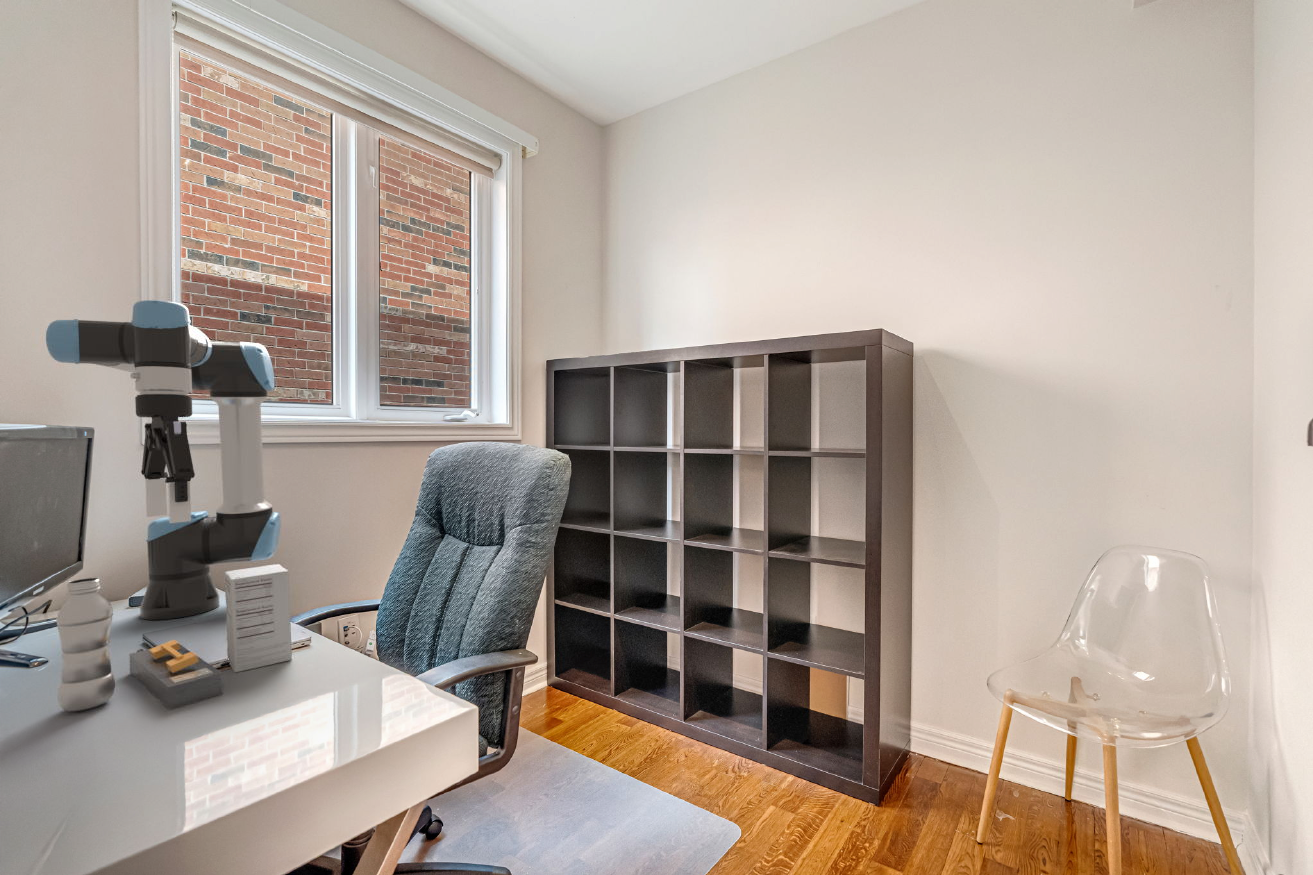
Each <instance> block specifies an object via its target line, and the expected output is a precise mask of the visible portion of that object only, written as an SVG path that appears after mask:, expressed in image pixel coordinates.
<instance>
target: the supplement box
mask: <svg viewBox="0 0 1313 875" xmlns="http://www.w3.org/2000/svg"><path fill="white" fill-rule="evenodd" d="M289 571H290V570H288V569H286V568H284V567H283V566H282V565H281V564H278V563H277V564H276V563H275V564H269V565H262V566H254V567H249V568H241V569H233V570H227V571H225V572H224V593H225V594H224V595H225V596H224V597H225V605H226V606H225V610H226V617H225V618H226V619H225V620H226V646H227V647H226V648H227V649H226V650H227V659H228V658H229V661H228V663H229V662H230V663H229V665H230V668H232V670H233V673H239V672H243V671H248V670H254V669H256V668H261V667H265V666H269V665H274V664H279V663H284V662H288V661H291V660H293V659H292V658H293V657H292V655H293V652H292V627H291V626H292V624H291V621H292V620H291V600H290V597H291V594H290V593H291V592H290V572H289Z"/></svg>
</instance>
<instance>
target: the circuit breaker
mask: <svg viewBox="0 0 1313 875" xmlns="http://www.w3.org/2000/svg"><path fill="white" fill-rule="evenodd" d="M179 646H180V649H179V650H177V652H179V653H180V654H182V655H184V654H187V653H189V652H191V651H190V650H189V649H188V648H186V647H184V646H183V645H182V644H180V643H179ZM149 649H150V648H149ZM149 649H142V648H140V649H137V650H136V652H131V653H129V655H128V656H129V674H130V675H131V676H132V677H133V678H134V679H135V680H137V682H139V683H140V684H141V685H142V686H143V687H144V688H145V689H146V690H147V691H148V692H150V693H151V694H152V695H153V697H155V698H156V699H157V700H158V701H159V702H160V703H161V704H162V705H164V706H165V708H167V709H168V710H169V711H171V710H174V709H178V708H181V707H183V706H184V707H185V706H187V705H191V704H194V703H197V702H200V701H203V700H207V699H210V698H214V697H216V696H217V697H218V696H221V695H223V694H224V692H223V672H222V671H220V670H219V669H217V668H215V667H214V666H213V665H212V664H209V663H208V662H207V661H205V659H203V658H201V657H199V656H198V655H197V658H198V661H199V662H197V663H194V664H192V665H190V666H187V667H185V668H183V669H181V670H178V671H176V672H174V673H172V672H171V671H170V670H169V669H168V668H167V665H166V662H168V661H170V660H172V659H175V657H173V656H172V655H170V654H167V655H165V656H162V657H160V658H157V659H155V658H153V657H152V656H151V654H150V651H149Z"/></svg>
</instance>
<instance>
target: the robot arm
mask: <svg viewBox="0 0 1313 875" xmlns="http://www.w3.org/2000/svg"><path fill="white" fill-rule="evenodd" d="M131 317H132V318H131V321H110V320H109V321H107V320H103V321H102V320H100V321H99V320H85V319H77V318H74V319H56V320H53V321H52V322H50V323H49V325H48V326H47V329H46V332H45V342H46V348H47V351H48V353H49V356H51V357H52V358H53V359H54V360H55V361H57V362H59V363H63V364H64V363H67V364H75V365H79V364H89V365H90V364H91V365H96V366H102V367H106V368H107V367H108V368H110V369H111V368H112V369H116V370H118V371H119V370H120V371H125V372H128V373H130V378H131V379H132V380H133V379H134V385H135V391H136V392H138V393H139V394H136V396H135V398H134V399H135V414H136V417H139V418H151V422H146V423H145V425H144V443H143V444H144V445H143V455H142V456H143V457H142V465H141V470H140V474H141V475H142V476H143V477H144V479H145V502H146V503H145V504H146V507H145V508H146V510H145V511H146V518H152V517H161V518H157V519H155V520H153V521H150V523H149V524H148V527H147V539H146V542H147V565H148V566H147V567H148V569H147V570H148V583H147V584H148V585H147V588H146V590H145V593H144V596H143V599H142V602H141V604H140V607H139V613H140V616H139V617H140V618H141V619H143V620H148V621H149V620H150V621H154V620H155V621H156V620H158V621H159V620H171V619H178V618H179V619H180V618H184V617H190V616H195V615H199V614H203V613H207V612H209V611H211V610H214V609H217V608H218V607H219V606H220V595H219V592H218V590H217V588H216V586H215V583H214V581H213V579H212V576H211V573H210V572H211V571H210V565H219V564H222V565H224V564H232V563H233V564H235V563H245V562H246V563H247V562H251V563H253V562H256V561H262V560H269V559H270V558H271V559H272V557H273V556H274V555H275V554H276V550H277V548H278V544H279V538H280V533H281V523H282V522H281V520H282V519H281V513H279V512H277V511H273V504H271V503H270V502H268V501H267V500H266V496H265V495H266V494H265V474H264V456H263V454H264V452H263V430H262V429H263V428H262V410H261V407H262V406H261V404H263V402H264V401H266V400H267V399H268V392H270V391H273V390H274V388H275V374H274V373H275V372H274V367H273V364H272V360H271V359H272V358H271V357H270V354H269V352H268V350H267V348H266V347H265V346H264V345H262V344H260V343H255V342H246V341H211V340H210V339H209V337H208V336H207V335H206V334H205V333H204V332H203V331H202V330H200V328H197V327H196V326H193V325H190V324H191V323H192V321H191V319H190V313H189V308H188V307H187V306H186V305H185V304H182V303H179V302H175V301H174V302H173V301H167V300H166V301H165V300H155V299H154V300H153V299H152V300H149V299H148V300H139V301H136V302H135V303H134V304H133V306H132V316H131ZM194 390H195V391H209V397H210V399H211V400H212V401H213V402H215V404H217V406H218V425H219V442H220V443H219V444H220V446H219V447H220V461H221V462H220V464H221V465H220V466H221V480H222V481H221V483H222V499H223V501H222V502H223V503H222V504H220V506H219V507H218V508H217V509H216V510H215V511H216V512H215V513H216V515H215V516H210V514H209V513H208V511H206V510H202V511H198V510H197V511H193V512H192V508H191V506H192V505H191V504H192V503H191V482H192V481H191V480H192V479H194V478H195V475H196V473H195V470H194V465H193V459H192V454H191V449H190V444H189V443H190V442H189V439H188V429H187V426H188V425H187V423H186V421H180V420H179V418H189V417H192V415H193V397H191V395H189V393H191V392H192V391H194ZM166 469H167V471H166ZM165 471H166V472H165ZM167 488H168V493H167ZM167 494H168V506H167ZM167 515H168V516H167ZM162 516H165V517H162Z"/></svg>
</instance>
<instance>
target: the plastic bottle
mask: <svg viewBox="0 0 1313 875" xmlns="http://www.w3.org/2000/svg"><path fill="white" fill-rule="evenodd" d="M100 580H101V579H100V578H99V577H87V578H79V579H73V580H70V581H67V584H66V585H67V586H66V587H67V590H66V595H68V596H69V598H68V599H67V601H65V603H64V604H63V605H62V606H61V608H60V610H59V611H58V613H57V616H56V618H55V620H56V626H57V629H58V630H57V631H58V634H59V638H60V642H61V644H60V645H61V652H62V667H61V675H60V676H61V679H60V683H59V688H58V693H57V701H58V705H59V707H60V708H61V709H62V710H64V711H65V712H78V711H79V712H80V711H84V710H88V709H92V708H96V707H98V706H100V705H104V704H105V703H107V702H109V701H110V699H111V698H112V697H113V695H114V694H115V688H116V679H115V676H114V672H113V671H112V665H111V655H110V641H111V640H110V637H111V635H110V634H111V628H112V622H113V615H114V609H113V606H112V603H111V602H110V601H109V600H107V598H105V597H104V596H103V595H102V594H100V592H99V591H100V590H102V586H101V581H100Z"/></svg>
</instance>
